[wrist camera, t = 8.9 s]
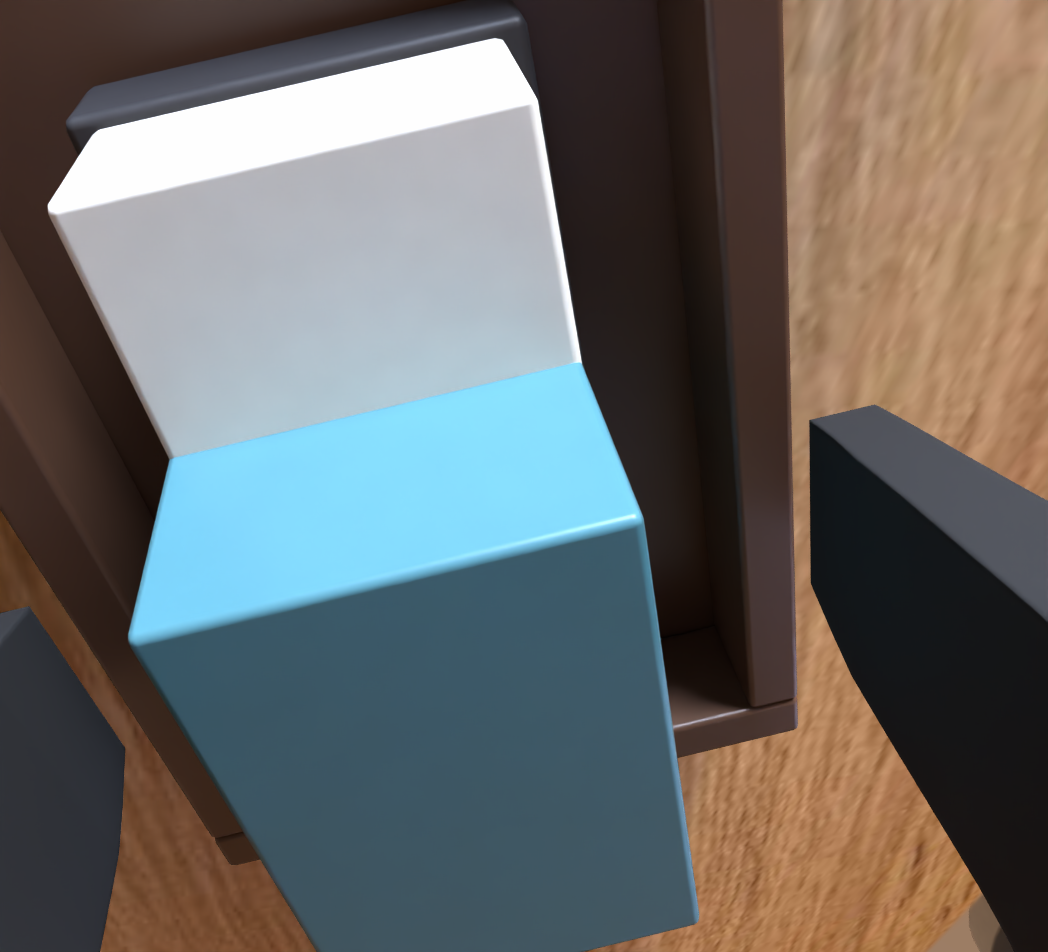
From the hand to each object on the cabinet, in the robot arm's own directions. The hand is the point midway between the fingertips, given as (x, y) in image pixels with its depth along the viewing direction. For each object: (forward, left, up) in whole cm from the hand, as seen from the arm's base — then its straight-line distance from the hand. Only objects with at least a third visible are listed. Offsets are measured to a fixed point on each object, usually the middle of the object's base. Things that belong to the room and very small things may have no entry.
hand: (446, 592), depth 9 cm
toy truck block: (+1, -1, -2) cm, 2 cm away
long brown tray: (+5, -10, -3) cm, 11 cm away
